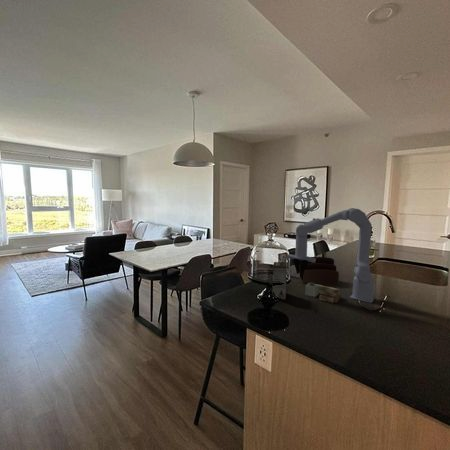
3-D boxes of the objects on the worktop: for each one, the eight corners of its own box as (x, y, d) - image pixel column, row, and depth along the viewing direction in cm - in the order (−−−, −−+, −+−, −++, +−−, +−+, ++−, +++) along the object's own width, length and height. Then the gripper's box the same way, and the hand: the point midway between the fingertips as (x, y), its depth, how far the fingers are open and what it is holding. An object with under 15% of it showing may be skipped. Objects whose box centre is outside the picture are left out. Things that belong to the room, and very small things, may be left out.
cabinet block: (318, 294, 128) (319, 282, 128) (314, 297, 124) (315, 285, 124) (308, 292, 131) (309, 280, 131) (305, 294, 128) (305, 283, 127)
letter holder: (299, 278, 154) (300, 255, 153) (332, 279, 152) (334, 256, 151) (302, 284, 144) (303, 259, 143) (338, 285, 142) (340, 260, 141)
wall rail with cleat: (341, 297, 124) (341, 289, 123) (335, 303, 116) (335, 295, 116) (312, 290, 133) (312, 283, 133) (305, 296, 126) (305, 288, 125)
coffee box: (272, 291, 131) (273, 261, 130) (285, 292, 130) (286, 262, 129) (272, 298, 123) (273, 266, 121) (286, 299, 121) (287, 266, 120)
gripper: (284, 247, 131) (284, 272, 133) (312, 251, 122) (311, 278, 124) (290, 245, 137) (289, 269, 138) (317, 248, 128) (316, 275, 129)
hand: (300, 273), depth 131 cm, fingers closed
